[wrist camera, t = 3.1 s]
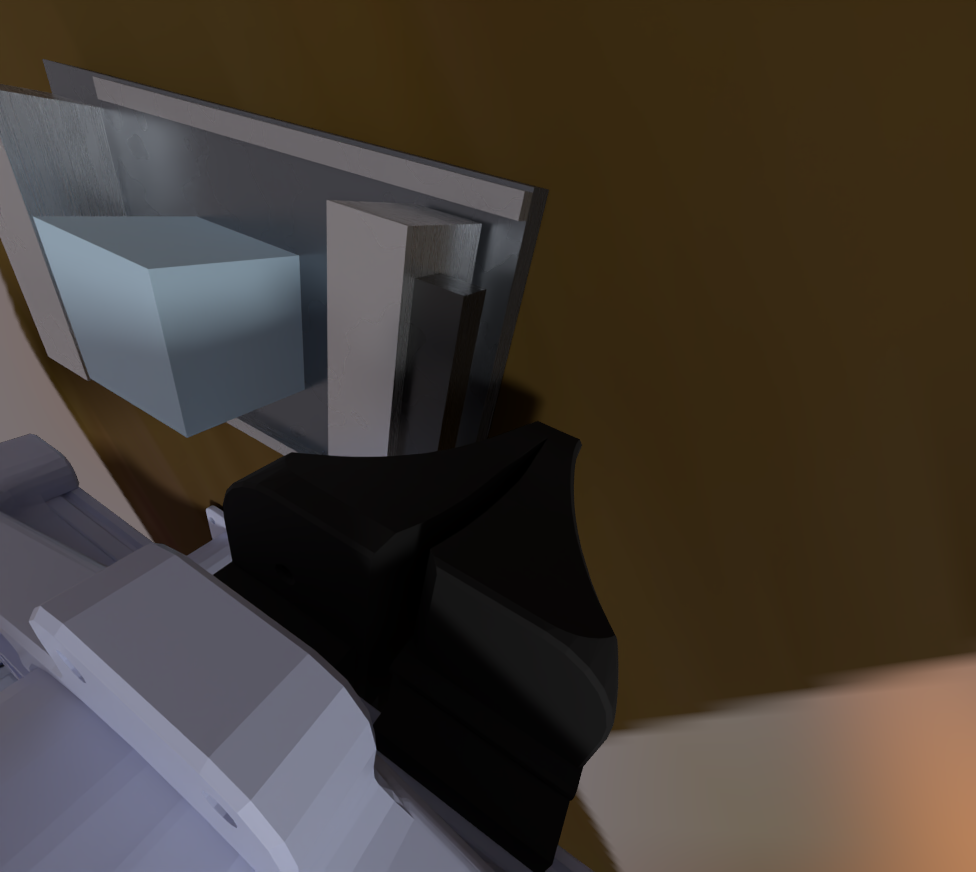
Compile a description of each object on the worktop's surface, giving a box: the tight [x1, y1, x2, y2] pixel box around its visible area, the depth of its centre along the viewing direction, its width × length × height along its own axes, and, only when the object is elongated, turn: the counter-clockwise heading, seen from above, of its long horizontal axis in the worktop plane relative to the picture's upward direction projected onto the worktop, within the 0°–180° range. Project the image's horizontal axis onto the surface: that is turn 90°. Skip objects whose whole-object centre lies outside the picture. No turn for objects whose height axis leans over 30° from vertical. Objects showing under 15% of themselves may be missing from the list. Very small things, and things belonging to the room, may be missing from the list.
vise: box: [0, 59, 549, 456], centre depth 15 cm, size 12×20×4 cm, turn 77°
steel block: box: [33, 216, 305, 438], centre depth 14 cm, size 5×5×4 cm
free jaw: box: [327, 200, 487, 457], centre depth 12 cm, size 10×3×3 cm, turn 167°
